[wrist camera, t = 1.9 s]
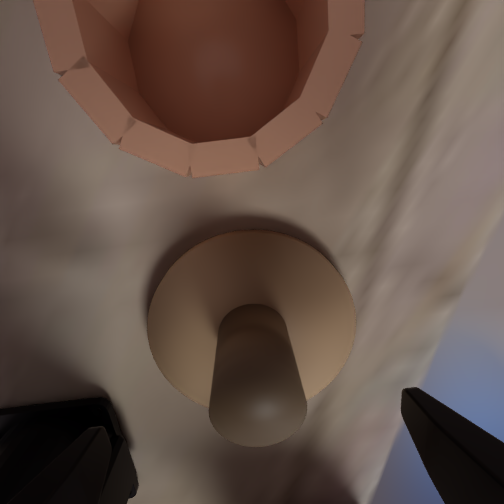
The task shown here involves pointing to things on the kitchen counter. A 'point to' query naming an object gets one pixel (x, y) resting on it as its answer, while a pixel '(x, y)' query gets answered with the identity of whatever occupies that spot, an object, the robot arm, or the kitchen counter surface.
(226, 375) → the lid
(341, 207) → the kitchen counter surface
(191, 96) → the bucket
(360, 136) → the kitchen counter surface
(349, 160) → the kitchen counter surface
